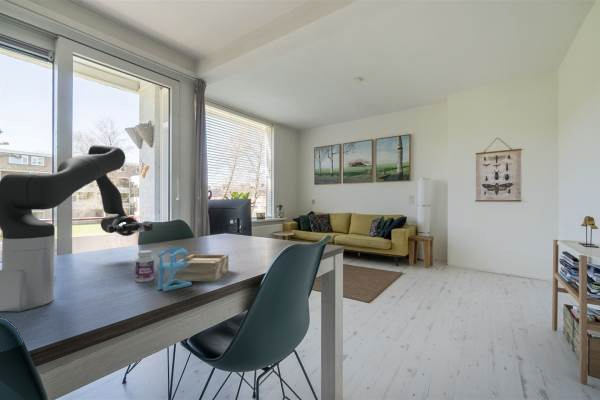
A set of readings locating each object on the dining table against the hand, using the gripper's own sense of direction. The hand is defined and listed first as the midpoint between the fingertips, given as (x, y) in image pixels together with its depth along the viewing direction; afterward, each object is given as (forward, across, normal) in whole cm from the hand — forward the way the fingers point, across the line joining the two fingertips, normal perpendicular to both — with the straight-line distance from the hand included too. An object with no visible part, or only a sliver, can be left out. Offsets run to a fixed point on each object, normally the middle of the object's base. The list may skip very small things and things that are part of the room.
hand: (135, 229), depth 96 cm
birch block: (+20, +16, +16) cm, 30 cm away
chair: (+26, +4, +16) cm, 31 cm away
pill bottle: (+12, 0, +16) cm, 20 cm away
